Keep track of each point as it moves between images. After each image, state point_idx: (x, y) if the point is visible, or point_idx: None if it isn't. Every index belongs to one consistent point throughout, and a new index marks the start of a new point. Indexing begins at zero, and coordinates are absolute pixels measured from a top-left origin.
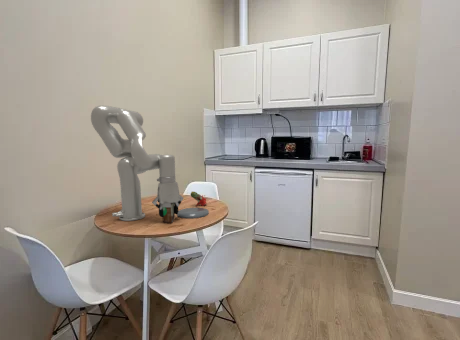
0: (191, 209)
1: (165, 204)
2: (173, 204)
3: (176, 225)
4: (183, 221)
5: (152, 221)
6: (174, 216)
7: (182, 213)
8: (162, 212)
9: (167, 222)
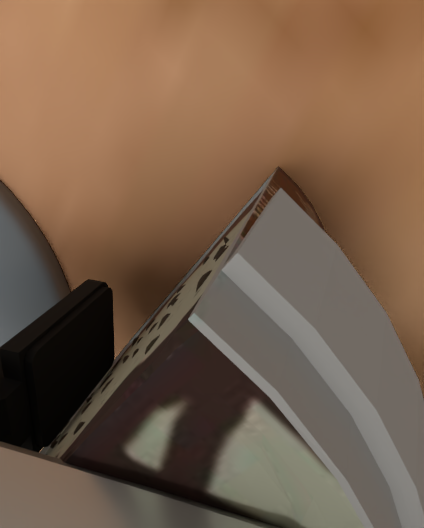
0: None
1: (416, 468)
2: None
3: (279, 10)
4: (104, 124)
5: None
6: (124, 350)
7: None
8: None
9: (320, 222)
